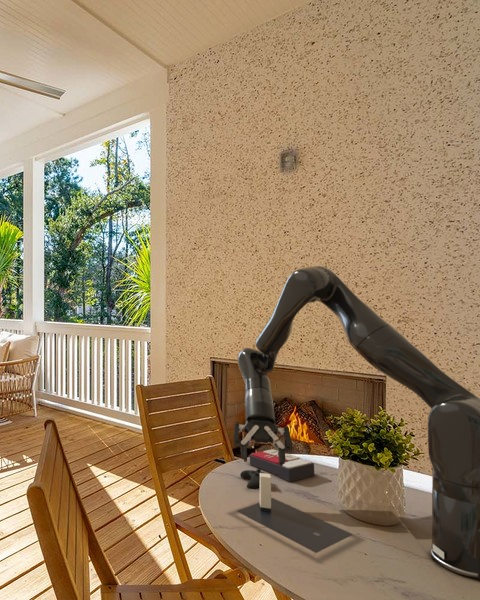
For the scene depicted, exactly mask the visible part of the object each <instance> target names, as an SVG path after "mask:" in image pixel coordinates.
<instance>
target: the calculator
mask: <svg viewBox="0 0 480 600" xmlns="http://www.w3.org/2000/svg"><path fill="white" fill-rule="evenodd" d="M285 458H286V461H285V464H283V466H279V457H278V450H277V449H275V448H272V449H267V450H263V451H258V452H254V453H253V452H252V453H251V454H249V465H250V466H252V467H256V468H257V469H260V470H263V471H266V472H269V473H270V474H271V473H272V474H274V475H276V476H278V478H280V479H283V480H285V481H287V482H294V481H299V480H302V479H305V478H310V477H315V463H314V462H312V461H310V460H307V459H303V458H300V457H299V456H296V455H293V454H289V453H285Z"/></svg>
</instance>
